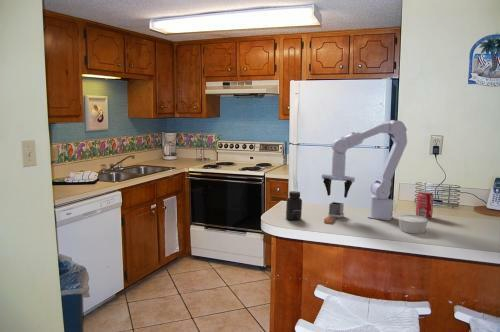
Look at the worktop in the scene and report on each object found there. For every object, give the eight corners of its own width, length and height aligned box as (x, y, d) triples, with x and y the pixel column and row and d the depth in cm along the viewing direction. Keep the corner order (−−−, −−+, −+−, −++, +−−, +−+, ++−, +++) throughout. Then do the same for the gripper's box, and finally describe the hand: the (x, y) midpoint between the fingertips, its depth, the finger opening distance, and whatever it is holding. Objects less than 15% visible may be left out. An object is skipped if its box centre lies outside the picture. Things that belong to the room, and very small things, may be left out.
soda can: (429, 215, 193) (431, 190, 191) (434, 219, 186) (436, 193, 184) (413, 215, 194) (415, 189, 192) (418, 219, 187) (420, 192, 185)
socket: (343, 213, 189) (343, 203, 188) (339, 215, 185) (340, 205, 184) (332, 211, 191) (332, 201, 191) (329, 213, 187) (329, 204, 186)
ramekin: (400, 234, 164) (401, 221, 163) (394, 226, 175) (395, 213, 174) (430, 235, 163) (431, 222, 162) (422, 227, 173) (423, 215, 173)
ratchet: (330, 213, 193) (331, 204, 192) (345, 215, 190) (346, 206, 189) (319, 222, 179) (319, 211, 178) (335, 224, 175) (335, 214, 175)
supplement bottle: (296, 221, 178) (297, 194, 177) (282, 219, 182) (283, 192, 181) (304, 218, 184) (305, 192, 182) (291, 215, 188) (292, 189, 186)
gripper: (320, 165, 185) (318, 195, 187) (352, 168, 178) (350, 199, 180) (325, 164, 191) (323, 193, 193) (356, 166, 184) (354, 196, 186)
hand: (337, 196), depth 187 cm, fingers open, 7 cm apart
